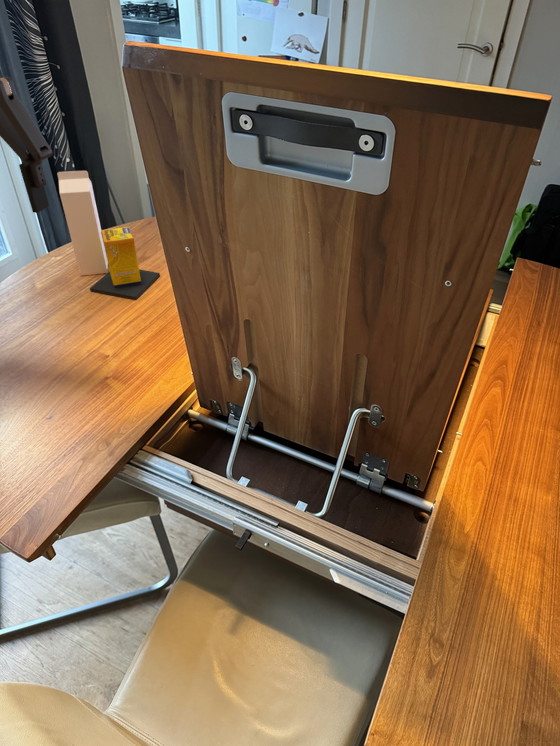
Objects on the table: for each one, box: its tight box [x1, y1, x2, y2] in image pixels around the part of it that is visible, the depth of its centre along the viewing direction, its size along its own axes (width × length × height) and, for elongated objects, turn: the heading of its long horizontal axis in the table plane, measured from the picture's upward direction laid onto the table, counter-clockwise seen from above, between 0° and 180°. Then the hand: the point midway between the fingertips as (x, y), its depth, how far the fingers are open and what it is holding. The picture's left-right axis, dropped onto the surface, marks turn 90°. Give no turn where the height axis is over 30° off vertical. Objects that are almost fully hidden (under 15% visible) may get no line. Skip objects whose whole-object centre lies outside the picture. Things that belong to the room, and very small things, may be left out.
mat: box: [89, 268, 161, 301], centre depth 114 cm, size 11×11×1 cm
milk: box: [56, 170, 109, 276], centre depth 112 cm, size 6×6×22 cm
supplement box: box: [101, 226, 141, 289], centre depth 110 cm, size 6×6×11 cm
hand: (1, 203), depth 75 cm, fingers open, 13 cm apart
